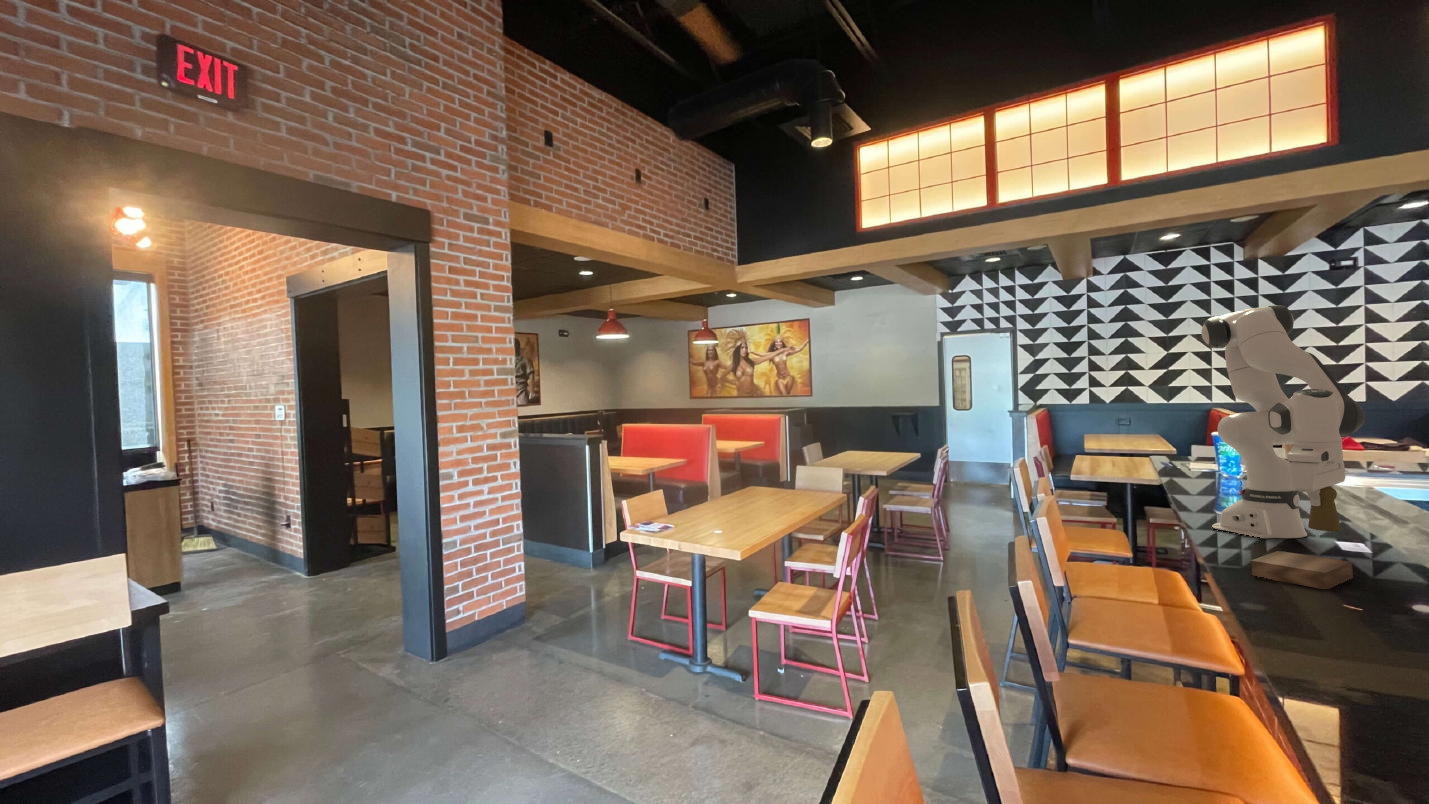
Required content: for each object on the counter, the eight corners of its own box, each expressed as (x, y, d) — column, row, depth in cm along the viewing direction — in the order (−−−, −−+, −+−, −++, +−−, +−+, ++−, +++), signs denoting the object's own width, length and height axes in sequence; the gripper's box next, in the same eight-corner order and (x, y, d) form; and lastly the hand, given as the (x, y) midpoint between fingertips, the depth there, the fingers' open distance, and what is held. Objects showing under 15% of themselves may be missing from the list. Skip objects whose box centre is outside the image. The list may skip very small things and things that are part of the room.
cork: (1325, 524, 156) (1323, 483, 156) (1348, 530, 150) (1346, 487, 150) (1301, 526, 157) (1299, 485, 156) (1323, 531, 151) (1320, 489, 150)
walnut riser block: (1252, 575, 150) (1251, 560, 150) (1279, 565, 156) (1277, 550, 156) (1326, 589, 138) (1325, 572, 138) (1353, 578, 144) (1351, 561, 144)
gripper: (1319, 446, 160) (1322, 496, 161) (1283, 455, 152) (1286, 508, 152) (1352, 447, 155) (1355, 499, 155) (1316, 457, 146) (1320, 512, 146)
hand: (1321, 503), depth 153 cm, fingers closed on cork, 4 cm apart
